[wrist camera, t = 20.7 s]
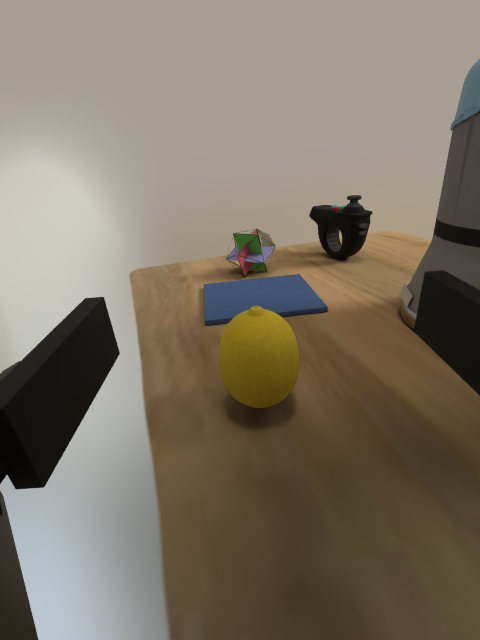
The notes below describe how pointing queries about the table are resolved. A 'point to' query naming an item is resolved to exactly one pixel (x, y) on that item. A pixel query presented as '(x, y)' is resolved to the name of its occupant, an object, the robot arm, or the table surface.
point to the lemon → (259, 358)
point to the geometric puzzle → (251, 251)
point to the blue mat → (260, 298)
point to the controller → (342, 227)
